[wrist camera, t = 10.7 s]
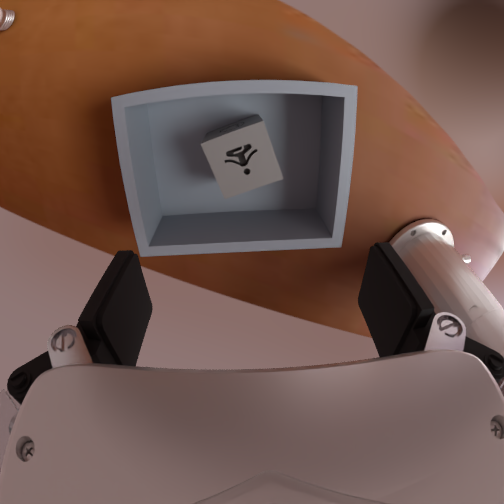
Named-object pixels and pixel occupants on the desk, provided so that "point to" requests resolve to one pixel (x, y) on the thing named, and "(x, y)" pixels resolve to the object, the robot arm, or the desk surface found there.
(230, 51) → the desk surface
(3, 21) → the lightbulb
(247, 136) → the dice cube
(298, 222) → the box
